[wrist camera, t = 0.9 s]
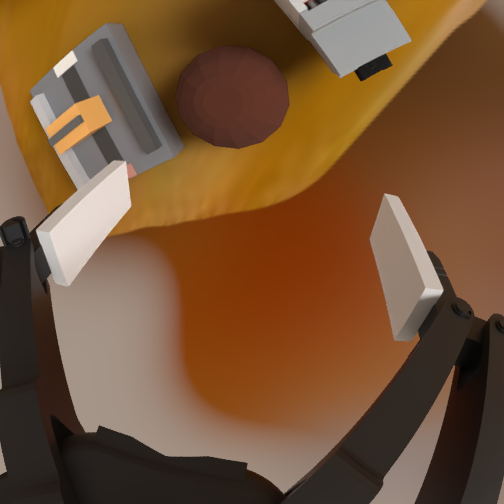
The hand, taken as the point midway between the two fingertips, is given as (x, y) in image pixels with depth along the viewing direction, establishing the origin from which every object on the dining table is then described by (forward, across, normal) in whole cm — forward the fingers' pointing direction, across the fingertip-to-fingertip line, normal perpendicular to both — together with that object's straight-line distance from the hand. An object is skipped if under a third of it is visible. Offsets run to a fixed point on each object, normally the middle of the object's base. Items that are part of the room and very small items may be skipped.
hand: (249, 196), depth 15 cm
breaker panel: (+25, -23, -2) cm, 34 cm away
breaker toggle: (+20, -23, -2) cm, 31 cm away
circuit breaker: (+25, +5, +12) cm, 28 cm away
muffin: (+25, -4, +1) cm, 25 cm away
